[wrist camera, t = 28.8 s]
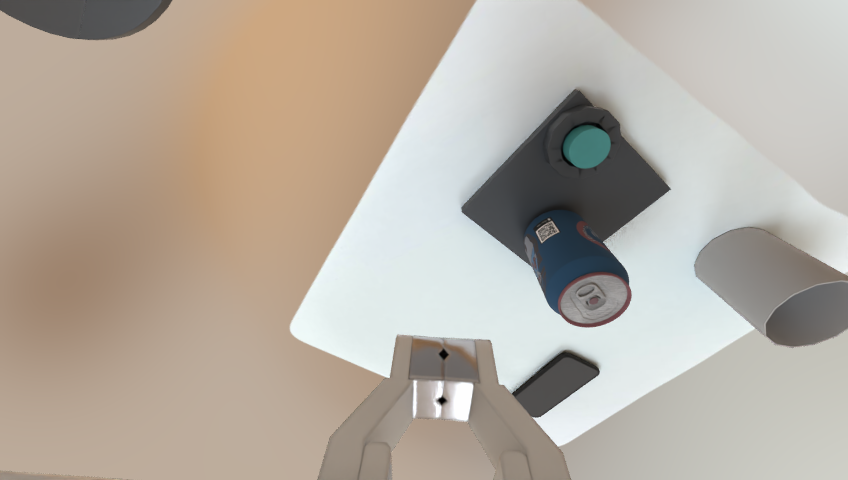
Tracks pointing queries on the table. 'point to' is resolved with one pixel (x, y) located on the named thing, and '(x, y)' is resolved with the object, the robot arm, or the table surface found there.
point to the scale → (565, 180)
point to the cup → (776, 287)
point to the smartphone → (554, 384)
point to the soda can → (576, 269)
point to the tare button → (586, 146)
